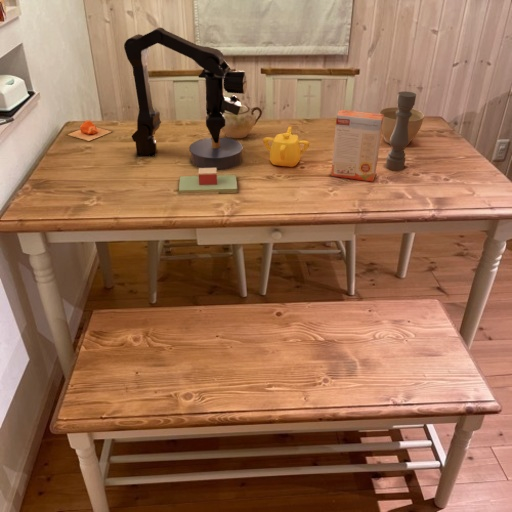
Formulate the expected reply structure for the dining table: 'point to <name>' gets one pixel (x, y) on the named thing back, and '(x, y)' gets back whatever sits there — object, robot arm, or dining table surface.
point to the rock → (89, 131)
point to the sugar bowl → (240, 122)
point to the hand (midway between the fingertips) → (216, 137)
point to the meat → (207, 176)
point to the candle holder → (400, 131)
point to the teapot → (285, 149)
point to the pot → (217, 162)
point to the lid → (216, 148)
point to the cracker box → (356, 145)
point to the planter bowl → (391, 119)
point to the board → (223, 185)
